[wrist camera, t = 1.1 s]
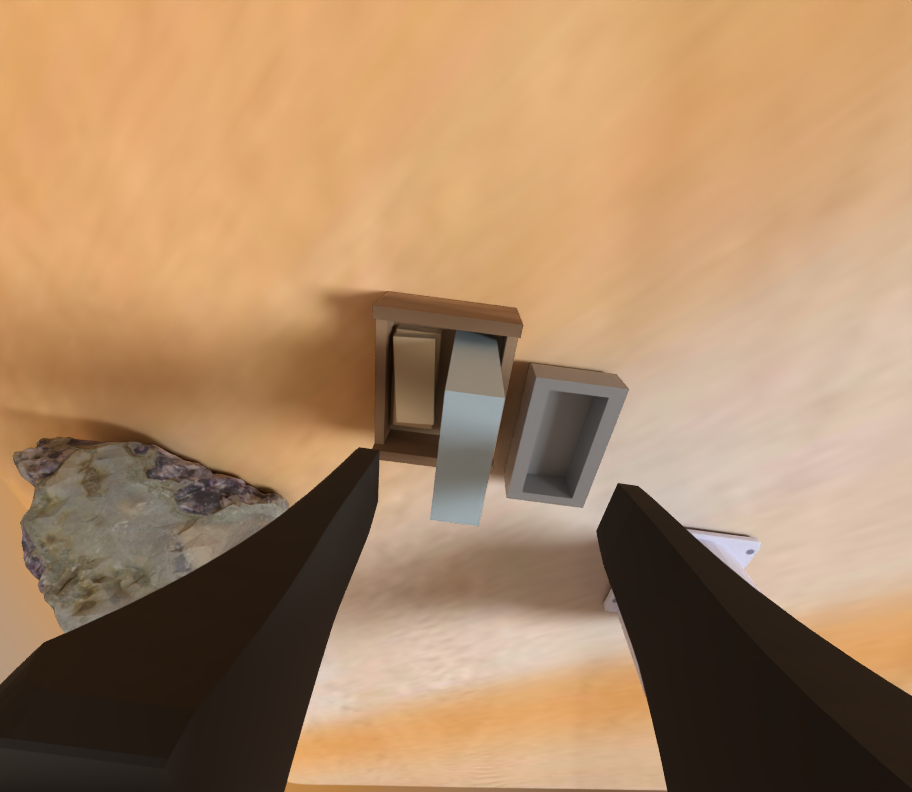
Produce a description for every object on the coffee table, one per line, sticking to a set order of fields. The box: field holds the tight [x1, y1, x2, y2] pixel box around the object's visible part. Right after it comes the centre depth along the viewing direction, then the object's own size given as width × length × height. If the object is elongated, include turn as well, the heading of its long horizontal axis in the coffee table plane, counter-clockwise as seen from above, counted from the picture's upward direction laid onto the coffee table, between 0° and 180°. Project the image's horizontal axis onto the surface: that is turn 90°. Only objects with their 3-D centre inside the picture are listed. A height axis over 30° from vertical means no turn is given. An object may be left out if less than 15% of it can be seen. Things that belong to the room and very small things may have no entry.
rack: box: [372, 291, 523, 474], centre depth 19 cm, size 8×7×3 cm
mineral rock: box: [13, 437, 289, 633], centre depth 20 cm, size 13×11×10 cm
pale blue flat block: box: [430, 330, 505, 526], centre depth 16 cm, size 6×2×7 cm, turn 173°
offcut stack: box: [393, 325, 443, 429], centre depth 19 cm, size 6×2×1 cm, turn 173°
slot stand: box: [505, 363, 629, 508], centre depth 20 cm, size 8×5×2 cm, turn 173°
